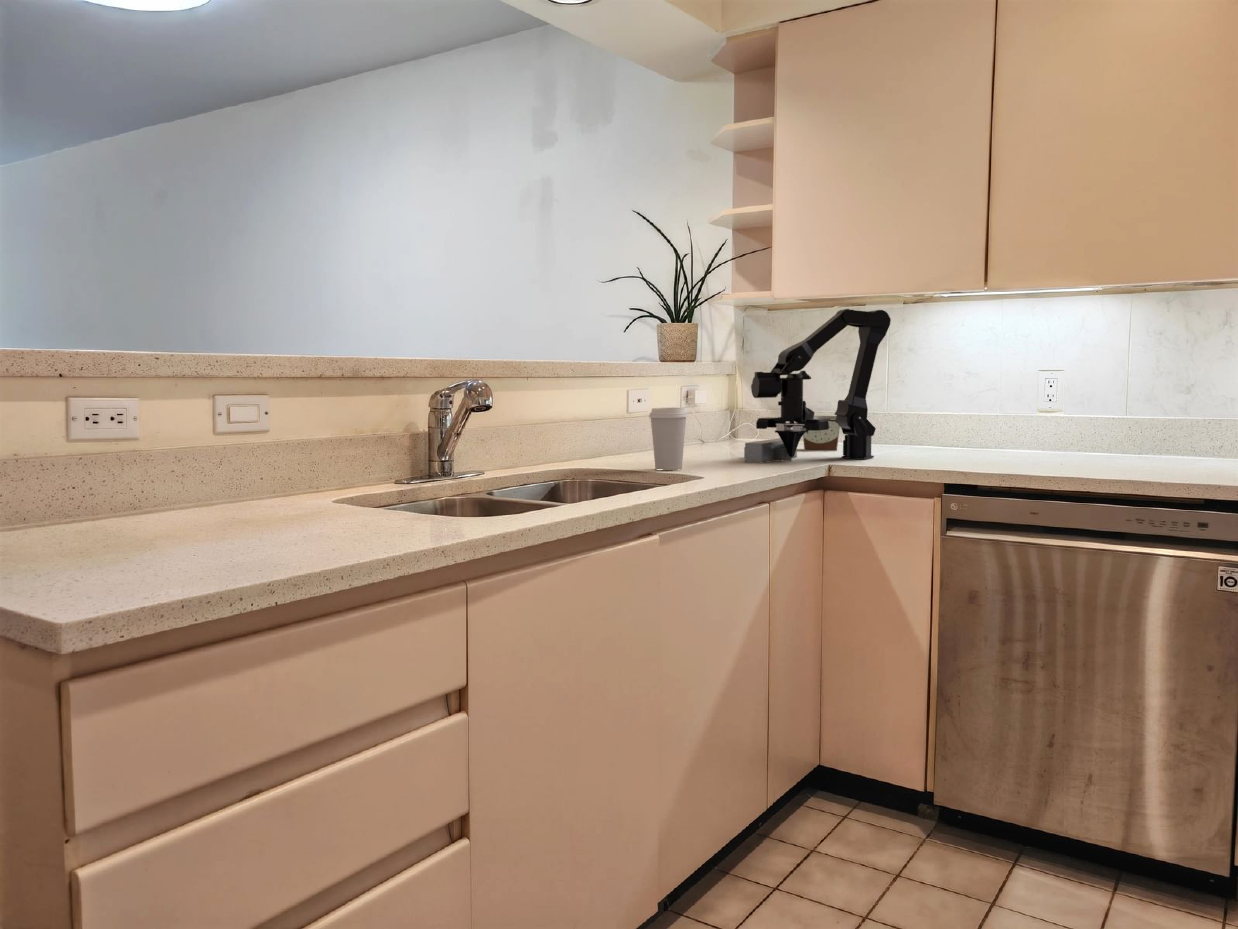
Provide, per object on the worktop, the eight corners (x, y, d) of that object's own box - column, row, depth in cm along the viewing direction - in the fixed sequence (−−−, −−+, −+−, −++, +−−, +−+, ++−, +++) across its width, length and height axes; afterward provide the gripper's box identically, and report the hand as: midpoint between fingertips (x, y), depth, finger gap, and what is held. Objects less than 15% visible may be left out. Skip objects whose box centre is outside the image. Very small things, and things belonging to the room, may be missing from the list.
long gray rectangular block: (796, 457, 247) (796, 438, 247) (761, 462, 234) (761, 443, 233) (780, 456, 250) (780, 438, 250) (745, 461, 237) (745, 442, 236)
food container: (839, 449, 269) (839, 415, 268) (842, 450, 263) (842, 416, 262) (797, 449, 271) (797, 415, 270) (799, 451, 264) (799, 416, 263)
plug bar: (791, 459, 240) (791, 448, 240) (782, 461, 238) (782, 449, 237) (753, 456, 250) (753, 445, 250) (744, 457, 247) (744, 446, 247)
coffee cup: (685, 471, 216) (685, 409, 215) (646, 471, 218) (645, 409, 217) (690, 467, 226) (690, 407, 224) (652, 467, 228) (652, 407, 226)
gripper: (839, 396, 236) (838, 456, 238) (776, 396, 248) (776, 452, 250) (818, 398, 228) (817, 459, 229) (754, 397, 240) (754, 456, 242)
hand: (791, 456), depth 238 cm, fingers closed
